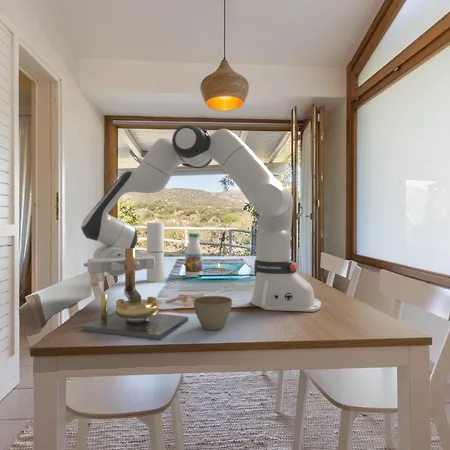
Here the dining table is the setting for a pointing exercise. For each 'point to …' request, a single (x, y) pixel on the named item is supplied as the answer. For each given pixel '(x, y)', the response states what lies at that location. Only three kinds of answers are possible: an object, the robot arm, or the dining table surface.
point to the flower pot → (212, 311)
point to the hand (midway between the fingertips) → (129, 267)
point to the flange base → (135, 324)
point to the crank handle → (134, 294)
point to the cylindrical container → (156, 250)
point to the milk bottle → (193, 256)
